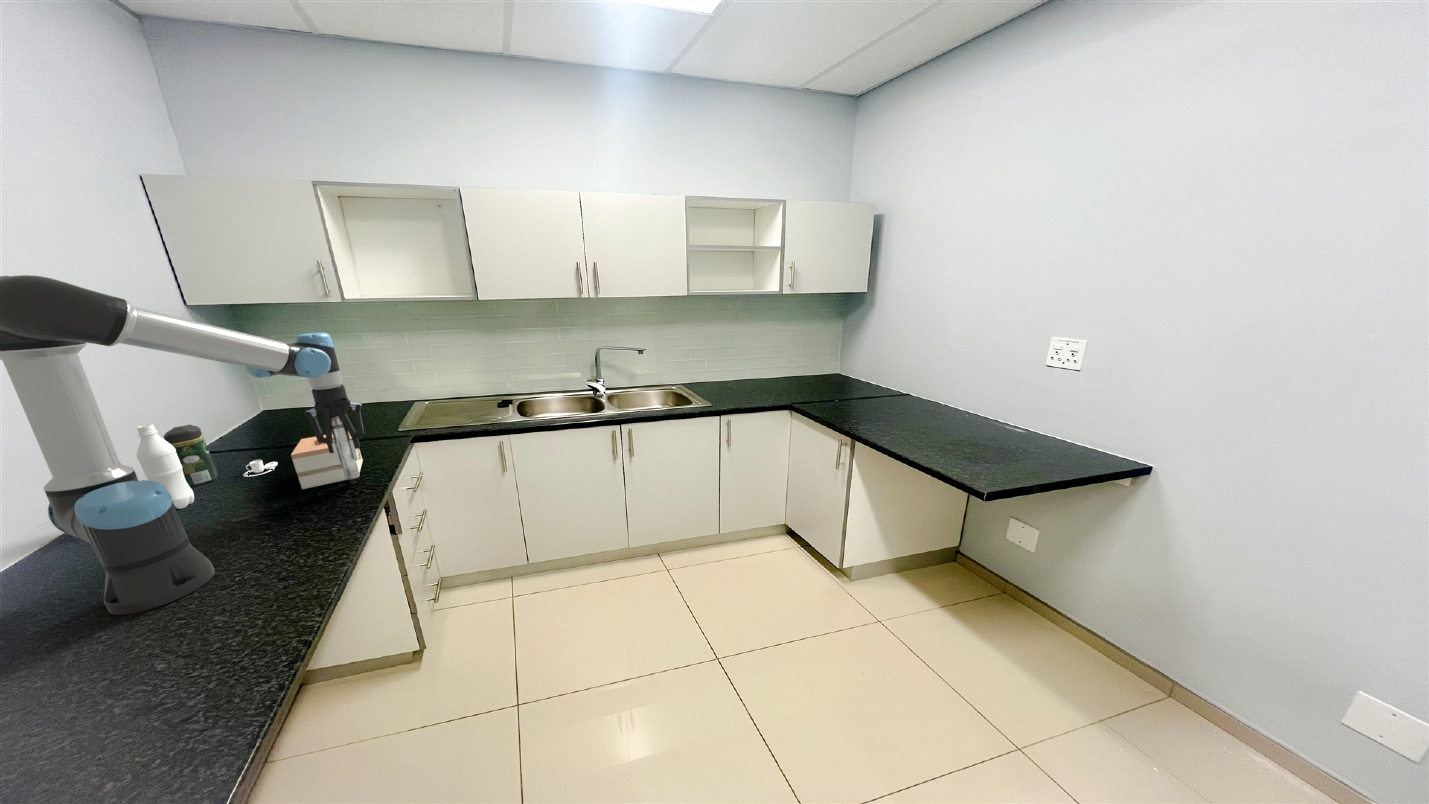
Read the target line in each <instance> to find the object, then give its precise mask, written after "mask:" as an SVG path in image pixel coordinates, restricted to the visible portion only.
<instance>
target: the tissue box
mask: <svg viewBox="0 0 1429 804" xmlns="http://www.w3.org/2000/svg"><path fill="white" fill-rule="evenodd" d="M348 433H349V432H348ZM323 436H324V438H326V434H323ZM349 437H350V438H351V436H350V434H349ZM332 439H333V440H332V441H335V440H334V436H333V433H332ZM357 453H358V456H359V457H358V460H356V463H357V466H358V470H359V473H360V472H361V468H362V465H363V461H364V459H363V457H362V454H361V453H362V452H361V450H360V447H359V448H358V449H357ZM290 456H291V460H292V462H293V466H294V469H295V472H296V475H297V478H298V481H299V484H300V486H301V490H305V489H309V488H314V487H319V486H323V485H328V484H333V483H338V482H342V481H347V479H345V475H344V472H343V468H342V465H341V463H339V464H337V461H336V458H335V454H334V453H330V452H329V449H328V446H327V444H326V443H319V442H318V441H317V438H316V436H312V437H306V438H301V439H300V441H299V442H298V443H297V445H296V446H295V448H294V449H293V451H292V452H291V454H290Z"/></svg>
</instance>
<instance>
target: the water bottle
mask: <svg viewBox="0 0 1429 804" xmlns="http://www.w3.org/2000/svg"><path fill="white" fill-rule="evenodd" d="M136 428H137V431H138V432H137V433H138V435H137V436H139V437H140V442H139V445H138V448H137V452H136V459H137V460H138V462H139V464H140V467H141V468H142V472H143V474H144V476H145V477H146V478H147V480H151V481H156V482H159V483H161V484H163V485H164V486H165V487H166V489H167V491H168V492H169V493H170V494H171V496H172V499H173V500H172V501H173V504H174V506H175V508H176V509H177V510H180V509H181V510H182V509H184V508H187V507H188V505H192V504H193V503H194V501H195V494H194V491H193V489H192V488H191V486H189V485H188V483H187V482H186V480H185V477H184V474H183V469H182V465H181V463H180V460H179V458H178V456H177V453H176V449H175V448H174V447H173V446H172V445H171V444H170V443H168V442H167V441H165V440H164V438H162V437H161V436H160V435H159V434H158V432H159V431H158V430H157V429H156V428H155V425H154V423H148V424H143V425H142V424H141V425H139V426H136Z"/></svg>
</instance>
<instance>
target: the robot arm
mask: <svg viewBox="0 0 1429 804" xmlns="http://www.w3.org/2000/svg"><path fill="white" fill-rule="evenodd" d="M295 338H296V342H293V343H286V342H283V341H279V340H274V339H270V338H266V337H262V336H258V335H253V334H249V333H245V332H241V331H237V330H233V329H229V328H224V327H222V326H221V327H220V326H215V325H212V324H207V323H202V322H199V321H195V320H191V319H187V318H182V317H179V316H178V317H177V316H174V315H169V314H165V313H161V312H156V311H153V310H149V309H145V308H140V307H137V306H136V307H135V306H133V305H132V304H131V303H130V302H129V301H128V300H127V299H125V298H121V297H117V296H112V295H109V294H105V293H101V292H99V291H96V290H92V289H89V288H86V287H82V286H77V285H75V284H72V283H69V282H65V281H62V280H58V279H54V278H51V277H46V276H42V275H41V276H40V275H27V274H25V275H24V274H23V275H13V276H12V275H1V276H0V361H2V362H3V365H4V367H5V369H6V372H7V374H8V376H9V379H10V381H11V383H12V386H13V388H14V390H15V393H16V395H17V398H18V400H19V402H20V405H21V407H22V409H23V412H24V413H25V416H26V419H27V420H28V423H29V425H30V428H31V430H32V432H33V435H34V437H35V439H36V441H37V443H38V447H39V449H40V451H41V453H42V456H43V458H44V460H45V462H46V464H47V467H48V469H49V472H50V474H51V477H52V478H51V479H50V480H49V481H48V482H47V483H45V485H44V486H43V490H44V492H45V495H46V498H47V500H48V502H49V504H48V507H47V515H48V519H49V521H50V522H51V524H52V525H53V526H54V527H55V528H56V530H59V531H61V532H62V533H64V534H67V535H70V536H71V537H76V538H78V539H80V540H83V541H84V542H87V543H89V544H90V545H91V547H92V549H93V551H94V553H95V555H96V556H97V559H98V561H99V563H100V565H101V567H102V569H103V570H104V573H105V579H104V592H103V593H104V594H103V603H104V606H105V607H106V609H107V611H108V613H110V614H111V615H119V616H121V615H122V616H123V615H131V614H137V613H141V612H146V611H149V610H152V609H155V608H156V609H157V608H159V607H161V606H164V605H167V604H169V603H172V602H174V601H176V600H179V599H181V598H183V597H185V596H187V595H189V594H191V593H193V592H195V591H196V590H198V589H200V588H201V587H202V586H204V585H206V584H207V583H208V582H210V580H211V579H212V578H213V577H214V576H215V573H216V570H215V568H214V566H213V563H212V561H211V560H210V559H208V557H206V556H205V555H204V554H203V553H202V552H200V551H199V549H197V548H196V547H194V546H193V544H191V542H190V539H189V538H188V535H187V533H186V531H185V529H184V528H185V527H184V526H183V523H182V521H181V518H180V516H179V514H178V511H177V508H176V507H175V506H174V504H173V501H172V500H173V499H172V496H171V494H170V493H169V492H168V491H167V489H166V487H165V486H164V485H163V484H161V483H159V482H156V481H151V480H148V479H142V480H139V478H138V476H137V474H136V470H135V468H134V467H132V466H129V465H126V464H122V463H121V462H120V460H119V457H118V454H117V452H116V449H115V447H114V445H113V442H112V439H111V436H110V434H109V431H108V429H107V426H106V423H105V421H104V418H103V416H102V413H101V411H100V408H99V405H98V402H97V401H96V398H95V395H94V392H93V390H92V387H91V384H90V382H89V380H88V377H87V374H86V370H85V369H84V366H83V364H82V361H81V359H80V355H79V353H80V352H81V351H82V350H83V349H84V348H85V347H86V346H87V345H88V344H92V345H93V344H94V345H99V346H105V347H113V346H115V345H118V344H123V345H127V346H128V345H129V346H134V347H138V348H145V349H150V350H153V351H154V350H155V351H162V352H165V353H172V354H177V355H183V356H187V357H188V356H189V357H193V358H199V359H205V360H209V361H210V360H211V361H215V362H221V363H227V364H232V365H238V366H242V367H244V368H245V369H246V370H247V372H248V373H249V374H250V375H251V376H253V377H254V378H258V379H260V378H266V377H267V378H270V377H272V376H280V375H281V376H287V377H300V378H305V379H306V378H307V381H308V384H309V387H310V388H312V390H311V394H312V396H313V397H312V398H313V401H314V405H313V407H312V408H311V409H307V410H306V411H305V412H304V416H305V417H306V418H307V419H308V420H309V423H310V425H311V427H312V430H313V433H314V435H315V436H314V437H316V438H317V441H318V442H319V443H326V444H327V446H328V449H329V452H330V453H334V454H335V458H336V461H337V464H339V463H341V461H340V458H339V454H338V450H337V447H336V443H335V441H332V440H333V439H332V434H333V433H332V429H331V422H330V417H335V416H340V418H341V419H342V421H343V423H344V424H345V426H346V428H347V430H348V432H349V434H350V436H351V438H350V440H349V441H350V445H351V449H352V452H353V456H354V460H358V457H359V456H358V453H357V449H358V448H359V449H360V447H361V444H360V441H359V438H360V437H362V436H364V433H365V429H364V425H363V418H362V414H361V413H362V412H361V408H362V405H363V404H362V403H361V402H358V403H357V402H356V403H355V402H351V400H350V399H349V398H348V395H347V392H346V388H345V385H344V384H343V382H344V381H343V376H342V372H341V370H340V365H339V362H338V359H337V353H336V351H335V349H336V348H335V346H334V343H333V340H332V337H331V335H330V334H329V333H327V332H310V333H309V332H307V333H303V334H298V335H297V336H296V337H295ZM350 407H351V410H352V411H354V418H355V424H356V428H357V431H356V429H355V427H354V426H353V424H352V421H351V420H350V418H349V415H348V413H347V411H348V410H349V408H350ZM317 413H319V414H320V415H322V416H323V417H324V422H325V423H324V425H325V435H326V438H324V436H323V435H324V434H323V431H322V428H321V427H320V423H319V421H318V418H317Z"/></svg>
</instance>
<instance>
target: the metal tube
mask: <svg viewBox="0 0 1429 804" xmlns="http://www.w3.org/2000/svg"><path fill="white" fill-rule="evenodd" d="M330 422H331V429H332V434H333V436H334V440H335V443H336V447H337V450H338V454H339V458H340V461H341V465H342V468H343V472H344V475H345V479H347V480H349V481H350V480H354V479H358V478H359V477H360V476H361V475H360V472H359V470H358V466H357V463H356V460H354V456H353V452H352V449H351V445H350V441H349V440H350V437H349V433H348V430H347V428H346V426H345V424H344V423H343V421H342V419H341V418H340V416H335V417H330ZM347 480H346V481H347Z"/></svg>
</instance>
